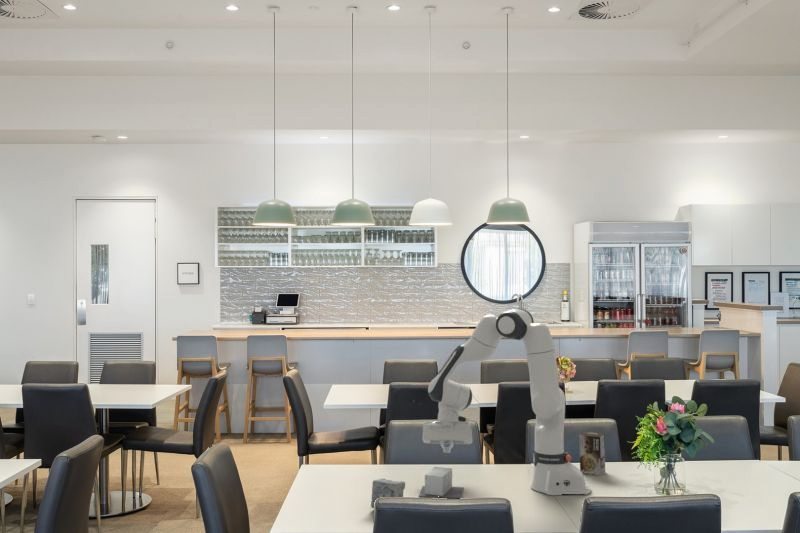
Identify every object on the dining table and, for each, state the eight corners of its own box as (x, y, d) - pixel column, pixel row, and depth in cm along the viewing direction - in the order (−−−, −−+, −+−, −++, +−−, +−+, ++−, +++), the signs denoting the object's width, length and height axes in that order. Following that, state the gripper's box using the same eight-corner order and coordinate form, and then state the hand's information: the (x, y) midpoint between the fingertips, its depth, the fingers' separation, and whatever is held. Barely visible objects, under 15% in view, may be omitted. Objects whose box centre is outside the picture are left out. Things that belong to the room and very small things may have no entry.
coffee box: (605, 472, 295) (605, 433, 295) (601, 476, 289) (600, 436, 290) (584, 469, 300) (583, 431, 300) (579, 473, 294) (578, 434, 294)
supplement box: (434, 485, 278) (423, 494, 266) (434, 466, 278) (424, 474, 266) (452, 487, 275) (442, 496, 263) (452, 468, 275) (442, 476, 263)
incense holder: (405, 508, 252) (405, 478, 252) (395, 515, 244) (394, 485, 245) (381, 504, 256) (381, 475, 257) (370, 511, 249) (370, 481, 249)
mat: (463, 488, 274) (463, 487, 274) (461, 498, 262) (461, 497, 262) (422, 486, 277) (422, 485, 277) (418, 497, 264) (418, 496, 264)
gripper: (422, 417, 291) (420, 447, 282) (472, 418, 289) (471, 448, 279) (423, 426, 296) (421, 455, 286) (472, 427, 293) (472, 456, 283)
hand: (446, 451), depth 282 cm, fingers closed
